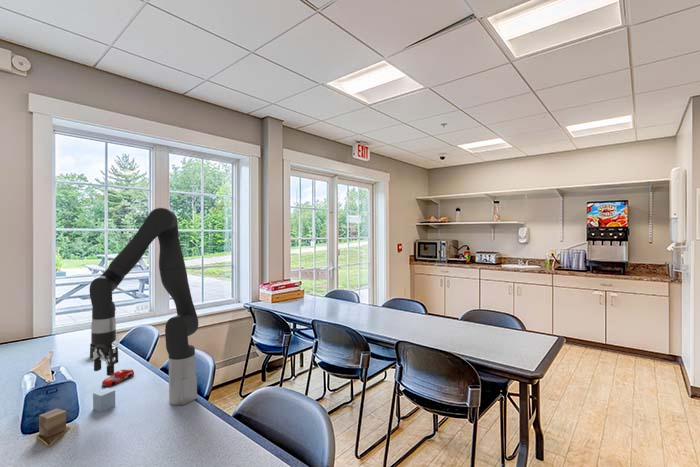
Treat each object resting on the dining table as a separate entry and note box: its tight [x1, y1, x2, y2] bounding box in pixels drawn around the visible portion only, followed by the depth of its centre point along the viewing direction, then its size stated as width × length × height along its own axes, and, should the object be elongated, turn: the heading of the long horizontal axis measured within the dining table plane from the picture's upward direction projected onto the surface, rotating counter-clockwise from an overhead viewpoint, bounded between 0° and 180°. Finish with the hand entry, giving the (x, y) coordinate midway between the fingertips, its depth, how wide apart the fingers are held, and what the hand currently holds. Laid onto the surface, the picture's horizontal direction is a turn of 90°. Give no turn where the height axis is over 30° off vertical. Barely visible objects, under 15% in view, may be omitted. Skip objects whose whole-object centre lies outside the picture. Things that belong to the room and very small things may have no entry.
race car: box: [101, 368, 135, 387], centre depth 153 cm, size 13×5×4 cm, turn 161°
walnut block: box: [38, 408, 67, 438], centre depth 112 cm, size 5×5×6 cm
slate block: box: [92, 387, 116, 413], centre depth 130 cm, size 5×5×6 cm
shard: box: [35, 425, 71, 447], centre depth 111 cm, size 11×8×2 cm
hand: (103, 372), depth 130 cm, fingers open, 8 cm apart
